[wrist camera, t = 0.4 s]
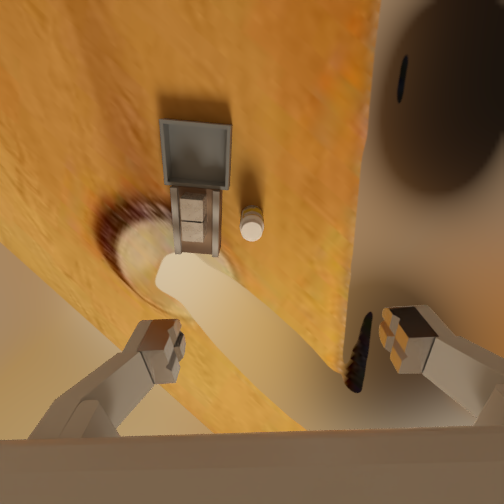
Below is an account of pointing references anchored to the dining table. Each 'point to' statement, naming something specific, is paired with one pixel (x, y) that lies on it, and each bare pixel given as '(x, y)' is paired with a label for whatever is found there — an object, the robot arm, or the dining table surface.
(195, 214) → the beige cube
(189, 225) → the grey small cube
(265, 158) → the dining table surface
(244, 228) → the supplement bottle
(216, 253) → the channel block
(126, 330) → the dining table surface
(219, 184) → the bin
